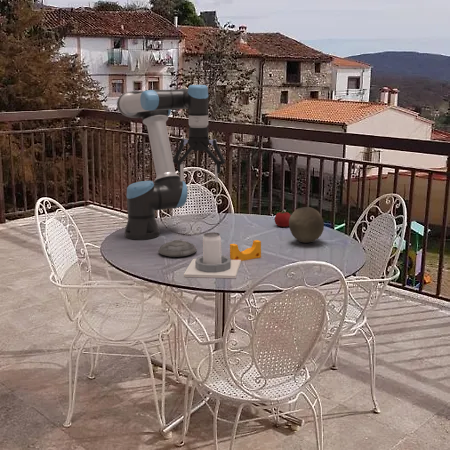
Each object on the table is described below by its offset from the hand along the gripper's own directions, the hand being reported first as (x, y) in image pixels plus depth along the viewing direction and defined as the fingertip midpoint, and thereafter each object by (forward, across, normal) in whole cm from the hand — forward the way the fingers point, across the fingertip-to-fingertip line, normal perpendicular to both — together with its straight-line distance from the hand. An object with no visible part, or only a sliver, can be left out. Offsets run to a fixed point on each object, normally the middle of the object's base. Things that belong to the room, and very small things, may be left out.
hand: (199, 181), depth 230 cm
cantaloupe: (+27, +42, +11) cm, 51 cm away
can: (+26, +10, -27) cm, 38 cm away
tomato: (+28, +32, +39) cm, 57 cm away
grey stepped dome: (+28, -7, -8) cm, 30 cm away
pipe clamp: (+27, +20, -12) cm, 36 cm away
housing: (+26, +10, -27) cm, 39 cm away
